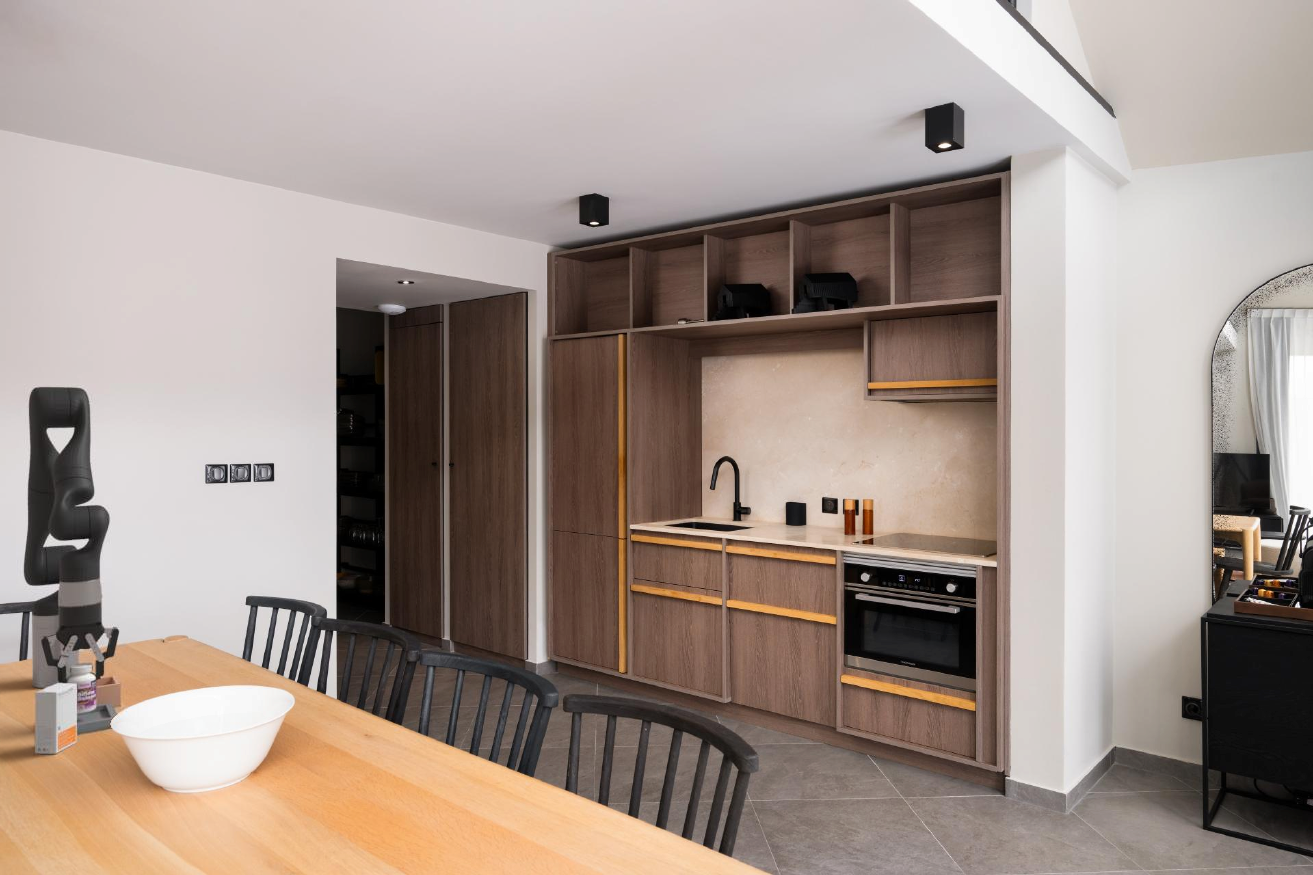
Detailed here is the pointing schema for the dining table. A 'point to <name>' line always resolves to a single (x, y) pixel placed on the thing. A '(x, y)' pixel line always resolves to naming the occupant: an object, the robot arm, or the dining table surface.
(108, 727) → the charcoal tray
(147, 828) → the dining table surface
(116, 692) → the open beige tray box
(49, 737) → the skincare box
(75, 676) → the pill bottle
